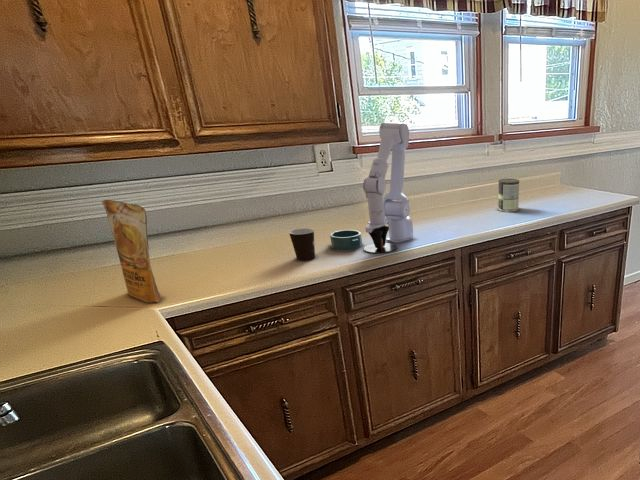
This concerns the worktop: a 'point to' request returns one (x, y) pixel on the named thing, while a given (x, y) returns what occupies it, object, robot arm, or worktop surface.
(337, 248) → the pot
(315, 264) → the worktop surface
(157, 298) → the pancake mix bag
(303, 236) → the coffee mug
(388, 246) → the lid
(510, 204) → the coffee can
